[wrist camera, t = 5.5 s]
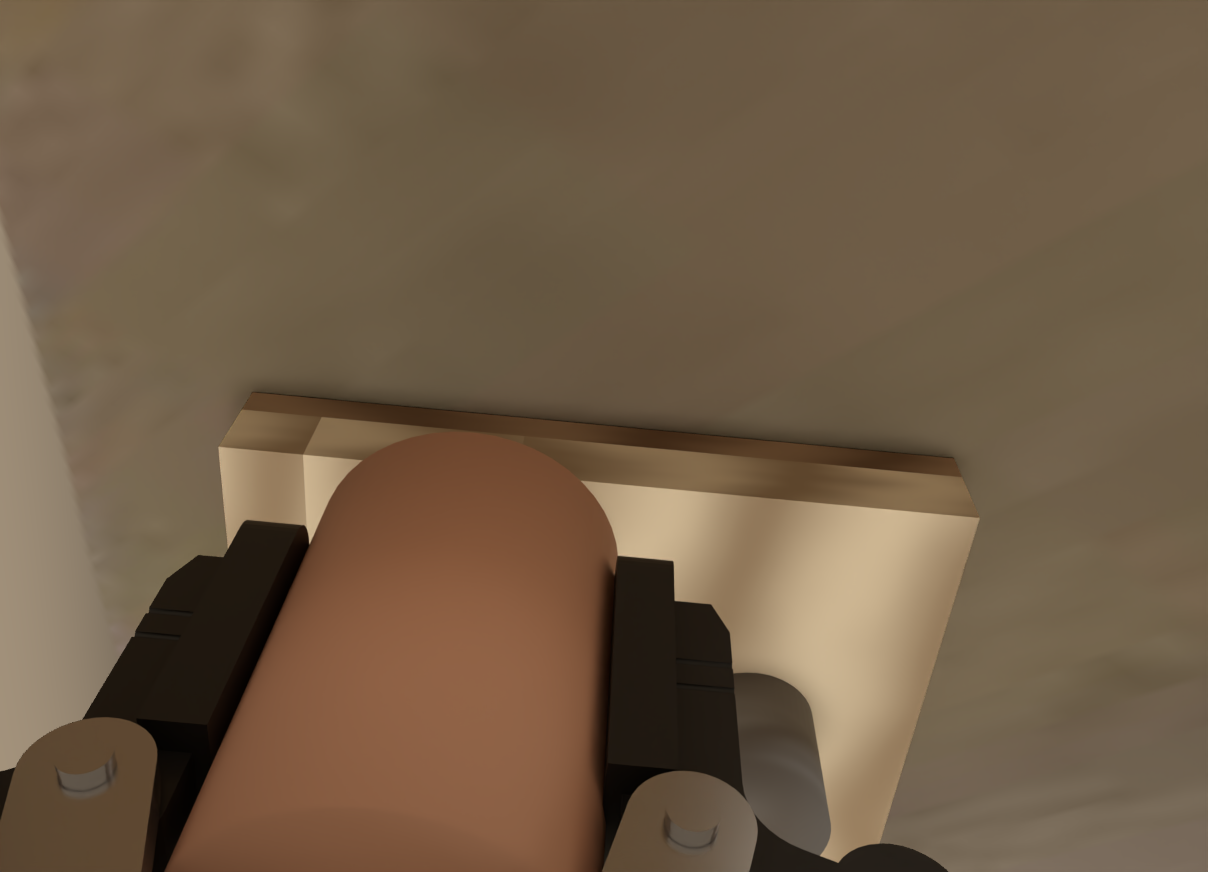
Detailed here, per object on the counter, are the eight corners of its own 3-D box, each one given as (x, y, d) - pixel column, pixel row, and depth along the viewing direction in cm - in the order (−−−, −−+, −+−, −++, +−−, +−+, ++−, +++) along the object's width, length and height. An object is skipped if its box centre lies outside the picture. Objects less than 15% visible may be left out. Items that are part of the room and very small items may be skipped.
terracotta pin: (633, 447, 14) (618, 831, 9) (604, 687, 16) (580, 1112, 11) (313, 416, 14) (120, 785, 9) (324, 660, 16) (171, 1075, 11)
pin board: (953, 458, 33) (1022, 615, 27) (845, 840, 41) (878, 1026, 35) (252, 392, 33) (162, 535, 27) (282, 790, 41) (218, 969, 35)
